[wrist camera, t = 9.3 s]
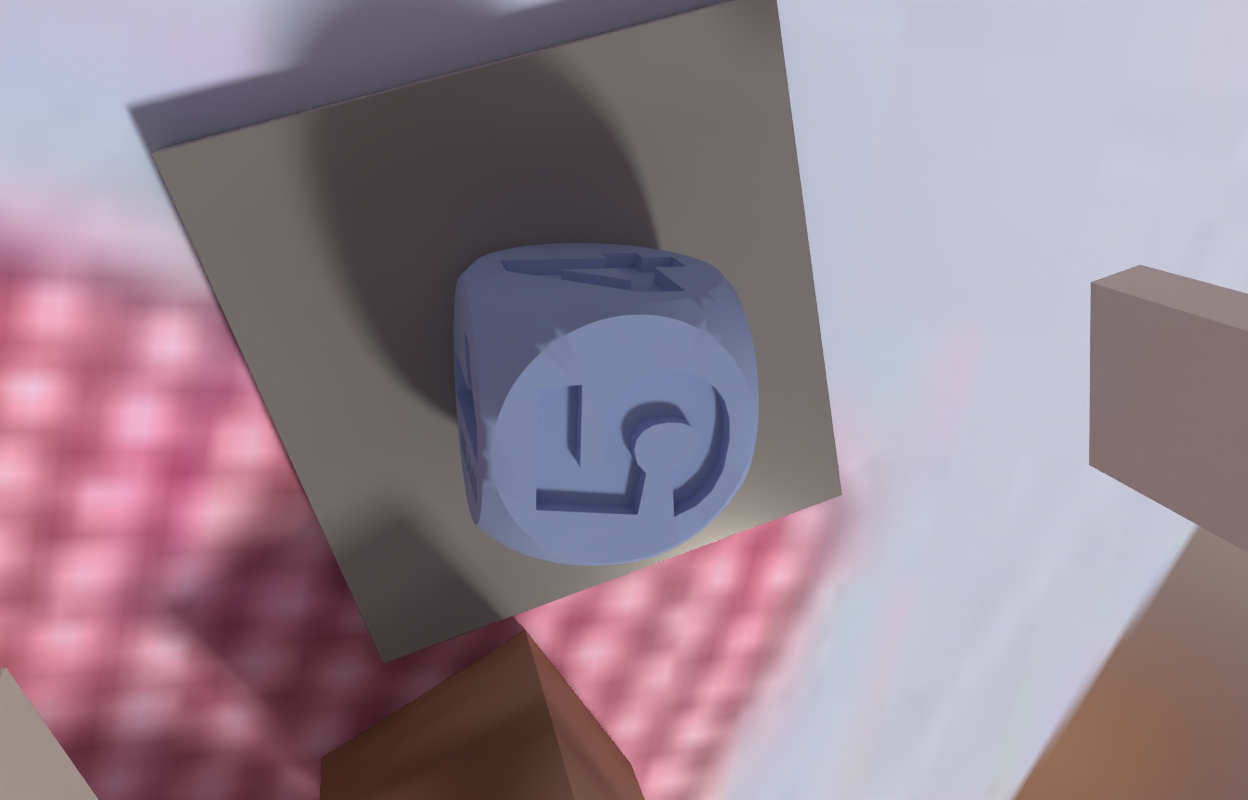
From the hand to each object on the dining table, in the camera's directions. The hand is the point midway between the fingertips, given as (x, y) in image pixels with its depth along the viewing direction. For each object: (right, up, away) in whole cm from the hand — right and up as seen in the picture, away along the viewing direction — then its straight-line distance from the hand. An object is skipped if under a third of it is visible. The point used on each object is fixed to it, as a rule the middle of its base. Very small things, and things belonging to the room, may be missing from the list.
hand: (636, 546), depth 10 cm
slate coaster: (-1, +3, +6) cm, 7 cm away
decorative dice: (-1, +3, +5) cm, 6 cm away
